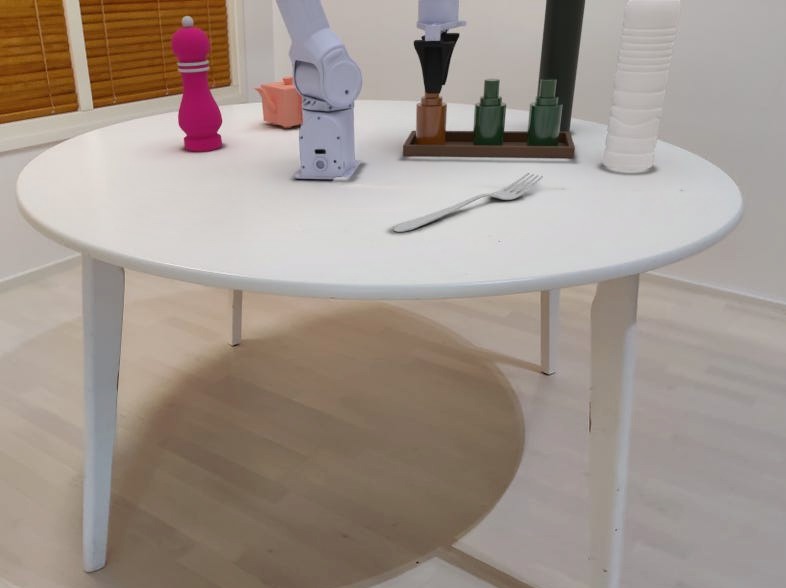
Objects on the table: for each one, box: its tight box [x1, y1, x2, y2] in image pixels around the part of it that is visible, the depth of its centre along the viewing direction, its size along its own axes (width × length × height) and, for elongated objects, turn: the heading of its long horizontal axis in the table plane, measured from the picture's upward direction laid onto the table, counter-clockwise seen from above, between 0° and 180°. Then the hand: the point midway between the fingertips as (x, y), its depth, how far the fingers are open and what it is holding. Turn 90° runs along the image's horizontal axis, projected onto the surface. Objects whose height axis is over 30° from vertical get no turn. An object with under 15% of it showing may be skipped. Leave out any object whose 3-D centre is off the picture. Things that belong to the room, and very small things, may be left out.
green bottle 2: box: [526, 78, 563, 146], centre depth 104 cm, size 5×5×10 cm
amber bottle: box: [415, 90, 448, 145], centre depth 108 cm, size 5×5×10 cm
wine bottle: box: [536, 0, 586, 132], centre depth 111 cm, size 6×6×30 cm
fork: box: [393, 172, 544, 233], centre depth 85 cm, size 3×24×2 cm, turn 128°
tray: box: [402, 130, 576, 160], centre depth 108 cm, size 11×25×2 cm, turn 77°
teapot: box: [252, 76, 303, 129], centre depth 131 cm, size 12×15×8 cm
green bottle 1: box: [472, 78, 507, 146], centre depth 106 cm, size 5×5×10 cm
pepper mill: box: [170, 15, 223, 152], centre depth 114 cm, size 7×7×20 cm
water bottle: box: [601, 0, 682, 171], centre depth 92 cm, size 9×6×25 cm
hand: (435, 89), depth 106 cm, fingers open, 7 cm apart
